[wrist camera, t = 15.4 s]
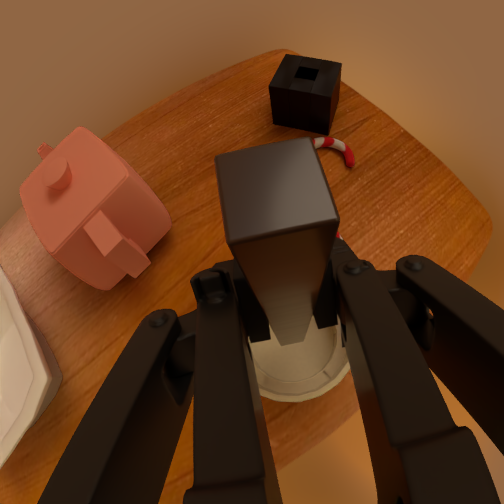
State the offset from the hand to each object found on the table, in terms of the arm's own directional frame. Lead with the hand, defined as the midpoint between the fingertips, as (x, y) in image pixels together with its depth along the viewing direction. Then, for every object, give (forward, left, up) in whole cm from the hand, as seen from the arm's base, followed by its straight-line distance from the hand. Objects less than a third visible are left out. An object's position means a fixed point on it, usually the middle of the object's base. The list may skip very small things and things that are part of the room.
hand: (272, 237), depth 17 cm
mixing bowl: (-3, +2, -17) cm, 17 cm away
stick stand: (+13, -23, -17) cm, 32 cm away
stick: (-3, +3, -9) cm, 10 cm away
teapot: (+22, +6, -17) cm, 28 cm away
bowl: (+20, +31, -17) cm, 40 cm away
